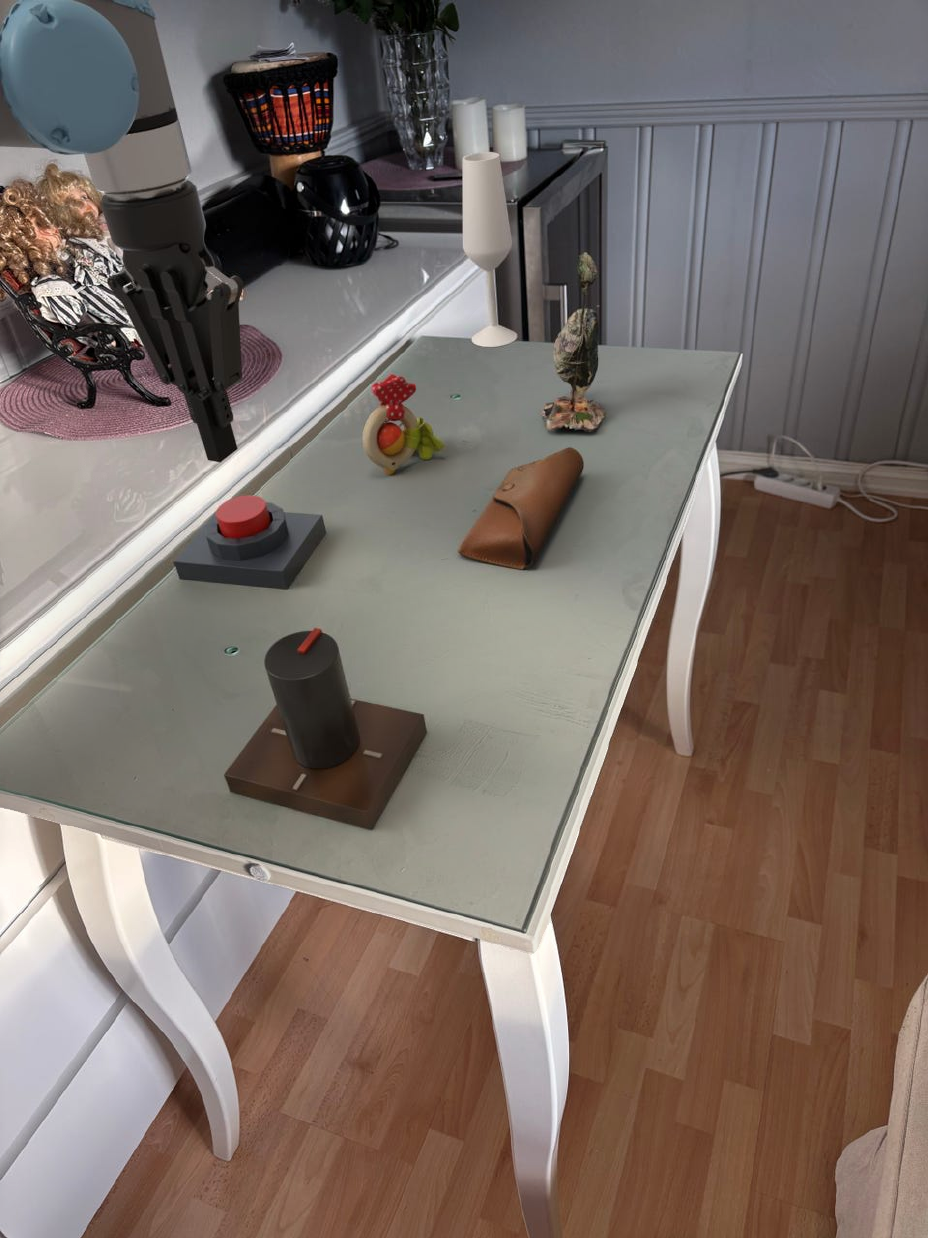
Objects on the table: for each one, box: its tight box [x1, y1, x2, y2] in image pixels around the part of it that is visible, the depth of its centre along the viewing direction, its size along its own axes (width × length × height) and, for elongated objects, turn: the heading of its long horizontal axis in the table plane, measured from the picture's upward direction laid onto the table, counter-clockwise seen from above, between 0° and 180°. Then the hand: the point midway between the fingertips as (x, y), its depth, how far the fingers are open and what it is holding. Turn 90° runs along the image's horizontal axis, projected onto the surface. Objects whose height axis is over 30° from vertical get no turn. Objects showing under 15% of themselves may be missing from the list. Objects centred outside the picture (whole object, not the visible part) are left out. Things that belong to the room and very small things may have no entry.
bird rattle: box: [362, 373, 445, 475], centre depth 102 cm, size 6×11×9 cm
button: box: [215, 494, 270, 539], centre depth 91 cm, size 5×5×2 cm
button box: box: [172, 501, 327, 590], centre depth 92 cm, size 12×10×4 cm
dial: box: [263, 627, 360, 769], centre depth 66 cm, size 5×5×9 cm
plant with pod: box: [540, 251, 606, 433], centre depth 104 cm, size 8×11×20 cm
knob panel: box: [223, 698, 428, 831], centre depth 69 cm, size 12×10×2 cm
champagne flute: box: [462, 151, 518, 348], centre depth 124 cm, size 7×7×24 cm
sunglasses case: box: [457, 447, 585, 571], centre depth 93 cm, size 18×7×7 cm, turn 160°
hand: (222, 454), depth 86 cm, fingers closed
